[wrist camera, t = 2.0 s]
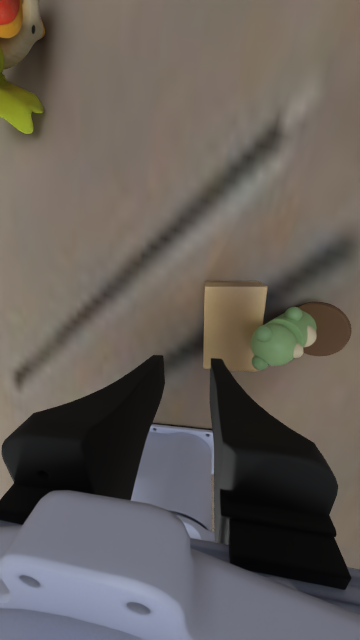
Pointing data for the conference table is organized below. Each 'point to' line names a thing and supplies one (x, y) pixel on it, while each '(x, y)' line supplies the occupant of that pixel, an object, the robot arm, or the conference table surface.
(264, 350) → the green figurine on base
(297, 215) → the conference table surface
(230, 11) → the conference table surface
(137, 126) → the conference table surface
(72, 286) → the conference table surface
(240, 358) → the beech block
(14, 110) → the bird rattle
